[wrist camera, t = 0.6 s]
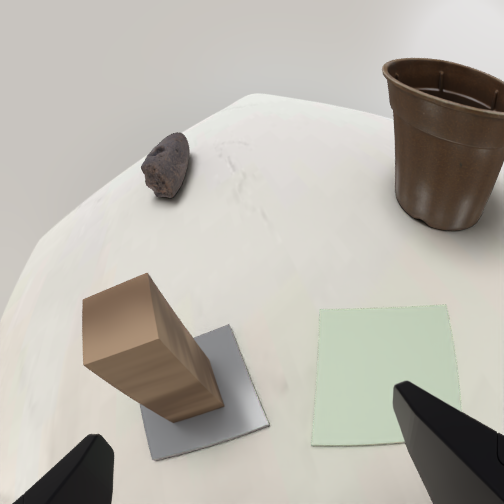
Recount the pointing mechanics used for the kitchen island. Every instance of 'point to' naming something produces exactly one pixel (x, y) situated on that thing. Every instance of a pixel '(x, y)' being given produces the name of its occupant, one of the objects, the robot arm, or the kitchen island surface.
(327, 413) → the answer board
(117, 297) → the walnut post
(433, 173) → the plant pot
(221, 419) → the plate
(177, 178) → the perforated stone tool
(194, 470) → the kitchen island surface
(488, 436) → the robot arm
